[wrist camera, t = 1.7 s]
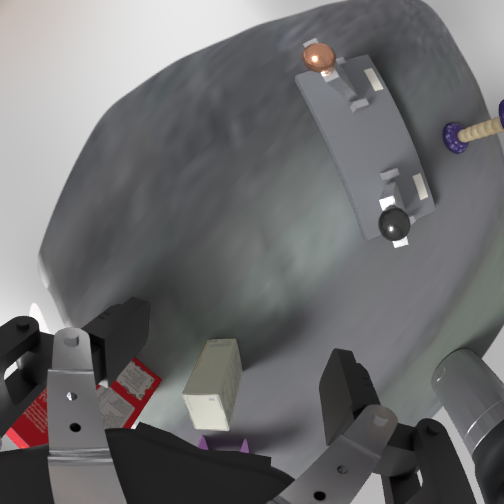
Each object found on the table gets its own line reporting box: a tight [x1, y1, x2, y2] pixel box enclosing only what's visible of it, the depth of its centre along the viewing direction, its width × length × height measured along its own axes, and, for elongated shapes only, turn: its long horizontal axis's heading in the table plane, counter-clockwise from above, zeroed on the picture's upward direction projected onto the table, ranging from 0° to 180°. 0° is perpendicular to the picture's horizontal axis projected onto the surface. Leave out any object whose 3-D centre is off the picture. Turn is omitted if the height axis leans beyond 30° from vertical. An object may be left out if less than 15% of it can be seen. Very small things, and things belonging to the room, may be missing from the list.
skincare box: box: [182, 338, 243, 431], centre depth 33 cm, size 6×4×12 cm
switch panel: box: [295, 54, 436, 240], centre depth 29 cm, size 10×21×4 cm, turn 24°
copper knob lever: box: [302, 38, 359, 102], centre depth 22 cm, size 3×4×13 cm, turn 23°
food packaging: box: [5, 357, 162, 449], centre depth 30 cm, size 15×5×25 cm, turn 49°
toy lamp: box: [443, 100, 504, 153], centre depth 20 cm, size 5×5×17 cm
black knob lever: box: [378, 180, 410, 248], centre depth 24 cm, size 3×4×13 cm, turn 23°
